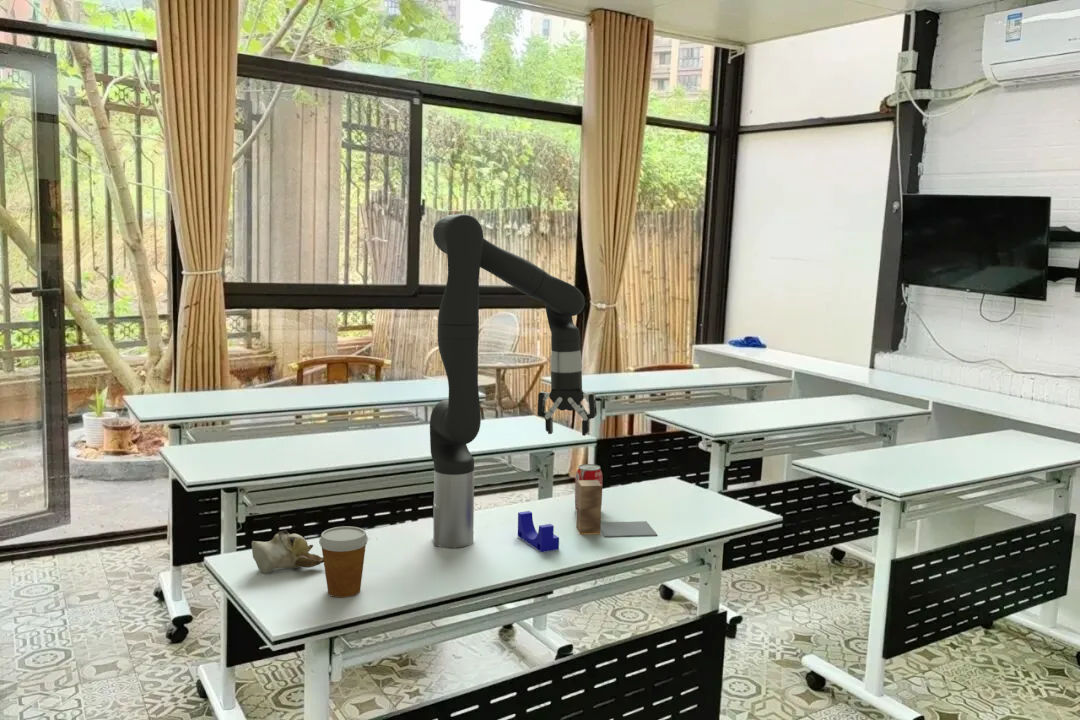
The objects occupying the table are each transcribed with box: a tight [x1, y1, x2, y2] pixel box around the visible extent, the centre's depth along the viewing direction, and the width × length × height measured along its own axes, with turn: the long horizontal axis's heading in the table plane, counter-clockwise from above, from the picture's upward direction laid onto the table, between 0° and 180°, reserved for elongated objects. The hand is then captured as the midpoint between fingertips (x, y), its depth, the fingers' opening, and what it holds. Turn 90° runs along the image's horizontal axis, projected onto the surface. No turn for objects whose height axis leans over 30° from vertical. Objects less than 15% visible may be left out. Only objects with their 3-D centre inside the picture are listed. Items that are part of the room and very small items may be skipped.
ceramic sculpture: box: [251, 529, 324, 575], centre depth 186 cm, size 11×9×15 cm
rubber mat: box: [600, 520, 658, 538], centre depth 216 cm, size 13×10×1 cm
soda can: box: [574, 463, 603, 511], centre depth 229 cm, size 7×7×12 cm
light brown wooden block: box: [575, 480, 603, 535], centre depth 214 cm, size 5×5×12 cm
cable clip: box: [517, 510, 560, 553], centre depth 205 cm, size 12×4×6 cm, turn 28°
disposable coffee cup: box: [318, 525, 369, 598], centre depth 174 cm, size 10×10×12 cm
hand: (567, 434), depth 215 cm, fingers open, 8 cm apart
